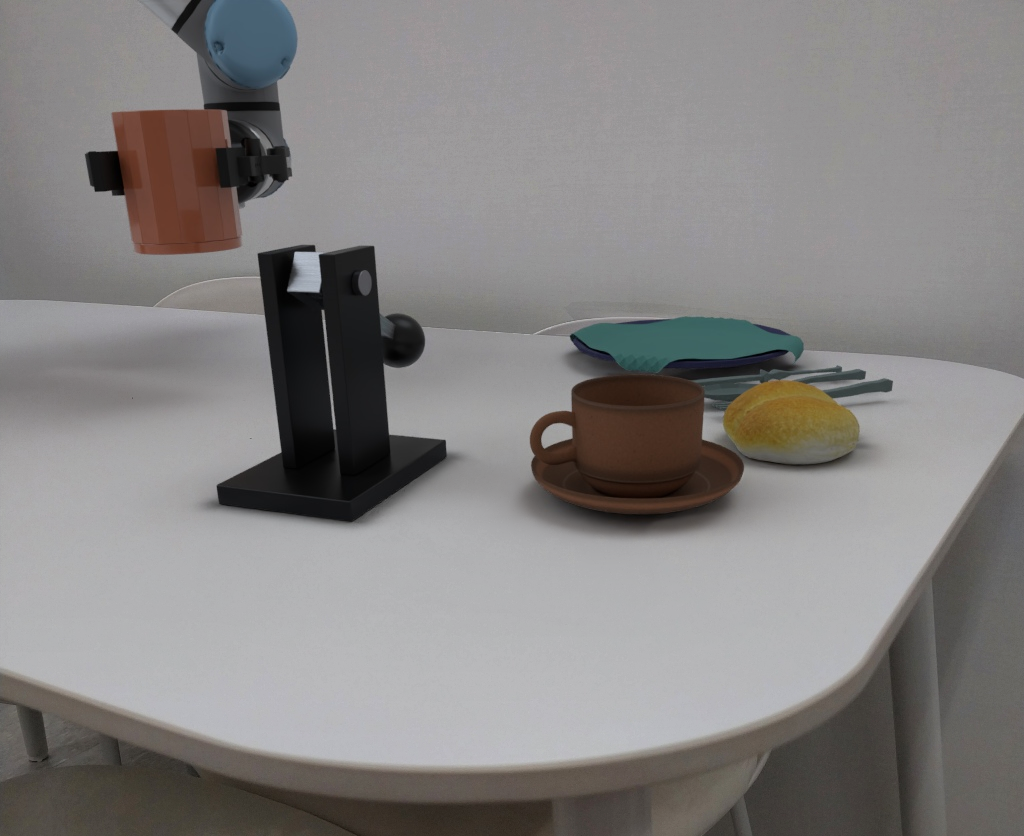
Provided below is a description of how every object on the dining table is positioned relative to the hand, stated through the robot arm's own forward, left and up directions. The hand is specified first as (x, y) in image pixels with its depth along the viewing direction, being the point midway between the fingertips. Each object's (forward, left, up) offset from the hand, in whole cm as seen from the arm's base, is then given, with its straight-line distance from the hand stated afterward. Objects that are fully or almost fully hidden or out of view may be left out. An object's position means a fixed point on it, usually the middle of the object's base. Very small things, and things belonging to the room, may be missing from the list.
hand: (160, 169), depth 70 cm
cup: (-2, +4, -6) cm, 8 cm away
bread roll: (+45, +4, -18) cm, 48 cm away
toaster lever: (+20, -7, -10) cm, 23 cm away
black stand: (+20, -11, -18) cm, 29 cm away
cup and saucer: (+38, -8, -18) cm, 43 cm away
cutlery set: (+35, +24, -18) cm, 46 cm away
